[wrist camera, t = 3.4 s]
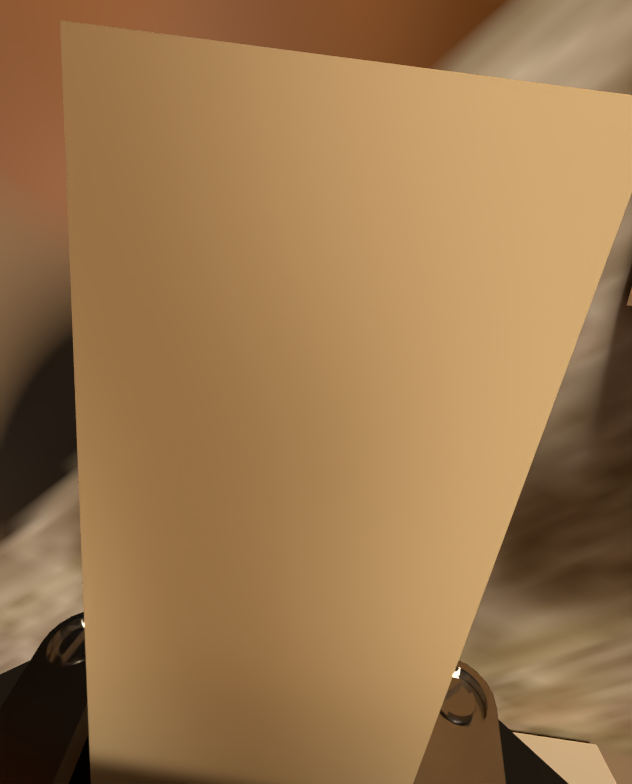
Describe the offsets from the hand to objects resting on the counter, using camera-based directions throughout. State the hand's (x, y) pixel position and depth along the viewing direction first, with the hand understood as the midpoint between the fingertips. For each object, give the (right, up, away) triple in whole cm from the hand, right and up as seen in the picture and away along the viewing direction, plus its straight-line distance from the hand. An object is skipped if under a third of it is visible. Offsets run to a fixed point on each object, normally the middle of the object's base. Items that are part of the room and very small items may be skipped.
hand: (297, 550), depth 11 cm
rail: (0, 0, +1) cm, 1 cm away
